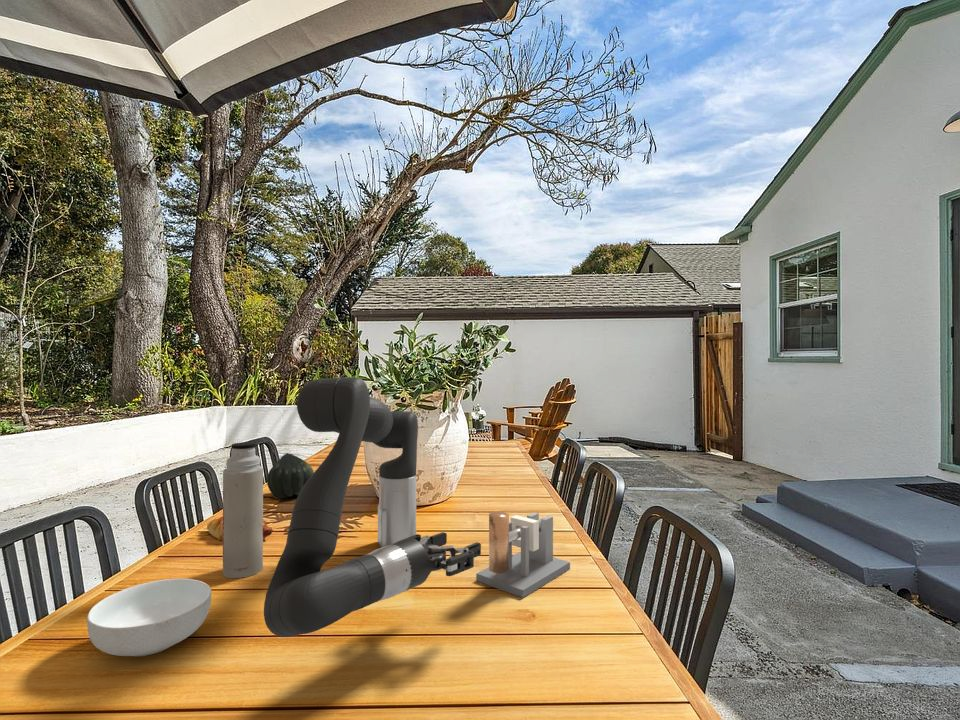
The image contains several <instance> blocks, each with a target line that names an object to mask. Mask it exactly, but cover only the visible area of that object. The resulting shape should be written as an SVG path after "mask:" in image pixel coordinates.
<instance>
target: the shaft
mask: <svg viewBox="0 0 960 720" xmlns="http://www.w3.org/2000/svg"><path fill="white" fill-rule="evenodd" d="M544 517H545V516H544ZM544 517H539V519H538V521H539V529H541V519H542V518H544ZM509 522H510V514H509V513H507V512H504V511H492V512H490V513H488V567H489V570H490V571H491V572H493V573H505V572H507V571H508V570H509V543H510V542H512V541H515V540H517V539H519V538H521V527H519V528H517V529H515V530H512V531H510V532H509Z"/></svg>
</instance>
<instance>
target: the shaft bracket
mask: <svg viewBox="0 0 960 720" xmlns="http://www.w3.org/2000/svg"><path fill="white" fill-rule="evenodd" d="M526 518H530V519H534V520H538V519H540V514H539V513H538V512H534V511H533V512H532V513H530V514H527V515H526ZM541 518H542V519H541V529H539V549H537V550H536V551H534V552H533V551H530V550H529V527H528V526H522V527H521V548H520V551H519V552H517V553H515V554H513V545H512V542H510V543H509V570H508V571H507V572H505V573H493V572H491V571H490V570H489V566H488V567H487V568H484V569H482V570H480V571H478V572H476V575H475V576H476V578H475V581H476V582H479V583H482V584H484V585H487V586H490V587H493V588H496V589H498V590H500V591H503V592H506V593H508V594H511V595H514V596H517V597H520V598H522V599H524V598H526V597H527V596H529V595H530V594H531V593H532V594H533V592H535V591H537V590H538V589H540V588H542V587H543V586H544V585H546V584H549V582H551V581H553V580H554V579H556V578H558V577H559V576H561V575H563V574H564V573H566V572H567V571H569V570H571V562H570V561H568V560H564V559H561V558H558V557H554V517H553V516H552V515H551V516H550V515H547V516H544V518H543V517H541ZM510 531H512V522H511V521H509V532H510Z"/></svg>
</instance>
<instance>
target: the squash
mask: <svg viewBox="0 0 960 720" xmlns="http://www.w3.org/2000/svg"><path fill="white" fill-rule="evenodd" d="M314 472H315V471H314V470H313V467H312V466H311V465H310V464H309V463H308V462H307V461H306V460H304V459H302V458H300V457H298V456H296V455H295V454H292V453H288V452H286V453H285V454H283V455H282V456H281V457H280V458H279V459H278V460H277V461H276V463H274V465H273V466H272V467H271V468H270V470H269V471H268V474H267V477H266V483H267V487H268V490H269V492H270V493H271V494H272V495H273V496H274V497H277V498H279V499H287V498H289V497H293V496H297V497H298V495H299V493H300V491H301V489H302V488H303V486H304V485H305V483H306V482H307V481H308V479H309V478H310V477H311V476H312V475H313V473H314Z"/></svg>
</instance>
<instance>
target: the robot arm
mask: <svg viewBox="0 0 960 720" xmlns="http://www.w3.org/2000/svg"><path fill="white" fill-rule="evenodd" d="M296 411H297V414H298V416H299V419H300V422H301V423H302V424H303V426H305V427H306V428H307V429H309V430H310V431H312V432H315V433H337V434H338V436H337V439H336V441H335V443H334V444H333V445H334V446H333V447H332V449H331V450H330V451H329V453H328V454H327V456H326V458H325V459H324V460H323V461H322V463H321V464H320V465H319V466H318V468H316V470H315V471H314V473H313V475H312V476H311V477H310V478H309V479H308V481H307V482H306V483H305V485H304V486H303V488H302V489H301V491H300V493H299V495H298V496H297V498H296V500H295V502H294V506H293V510H292V514H291V518H290V522H289V527H288V531H287V537H286V543H285V547H284V549H283V552H282V553H281V556H280V558H279V559H278V562H277V565H276V567H275V569H274V572H273V574H272V577H271V579H270V582H269V584H268V587H267V591H266V594H265V599H264V603H263V620H264V622H265V625H266V626H265V627H267V629H268V630H269V632H270V633H272V634H273V635H275V636H276V637H281V638H289V637H295V636H299V635H305V634H310V633H314V632H317V631H320V630H322V629H324V628H326V627H328V626H330V625H332V624H334V623H336V622H338V621H340V620H341V619H342V618H345V617H346V616H348V615H349V614H351V613H352V612H356V611H359V610H362V609H364V608H366V607H368V606H370V605H372V604H375V603H378V602H380V601H381V602H382V601H384V600H388V599H391V598H393V597H395V596H398V595H401V594H402V593H404V592H408V591H410V590H411V589H413V588H416V587H418V586H421V585H422V584H424V583H425V582H426V581H427V579H428V577H429V575H430V574H431V573H432V572H437V571H441V570H444V571H445V576H447V577H452V576H455V575H457V574H460V573H463V572H465V571H468V570H470V569H472V568H474V566H475V563H474V562H475V558H477V557H480V556H481V555H482V543H480V542H478V541H476V542H474V543H471V544H469V545H466V546H464V547H455V546H454V545H446V544H447V539H448V537H447V536H448V535H447V533H446V532H443V531H441V532H439V533H436V534H434V535H424V536H423V537H422V535H421V534H417V461H418V458H417V457H418V456H417V454H418V438H419V437H418V435H419V422H418V417H417V415H416V413H415V412H413V411H393V410H391V409H390V408H389V406H388V405H386V403H384V402H383V401H381V400H379V399H377V398H375V397H372V396H370V391H369V388H368V386H367V384H366V382H365V381H364V379H362V378H360V377H353V376H348V377H329V378H328V377H326V378H325V377H324V378H317V379H313V380H310V381H308V382H306V383H305V384H304V385H303V387H301V389H300V390H299V393H298V395H297V400H296ZM362 442H364V443H373V444H374V445H376V446H377V447H379V448H384V449H402V452H401V454H400V455H399V456H398V457H396V458H393V459H391V460H387V461H384V462H383V463H381V464H380V466H379V468H378V470H379V475H378V477H379V482H378V483H379V490H378V492H379V493H378V494H379V495H378V496H379V497H378V498H379V499H378V501H379V502H378V504H377V542H378V545H379V547H380V548H377V549H374V550H373V551H371V552H369V553H367V554H363V555H361V556H359V557H355V558H352V559H349V560H347V561H345V562H342V563H341V564H339V565H337V566H334V567H331V568H327V569H324V570H323V569H322V567H323V565H324V564H325V563H326V562H327V561H329V560H330V559H331V557H332V556H333V555H334V553H335V551H336V547H337V544H338V536H339V532H340V525H341V519H342V512H343V507H344V501H345V497H346V493H347V491H348V490H347V488H348V485H349V483H350V478H351V475H352V473H353V470H354V466H355V463H356V461H357V457H358V453H359V452H360V447H361V444H362ZM447 552H449V558H447ZM456 554H457V555H456Z"/></svg>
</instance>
